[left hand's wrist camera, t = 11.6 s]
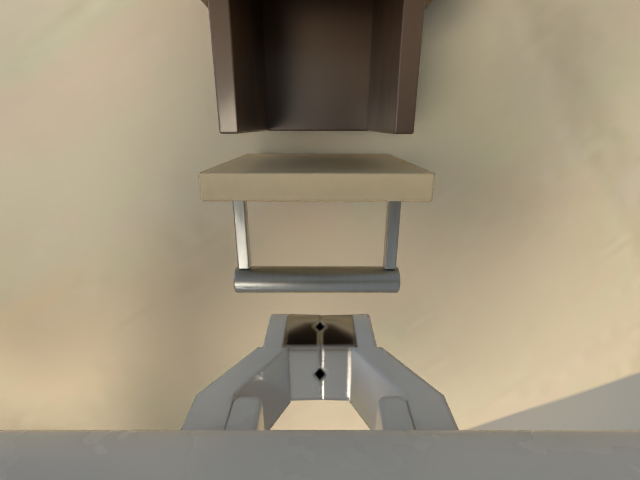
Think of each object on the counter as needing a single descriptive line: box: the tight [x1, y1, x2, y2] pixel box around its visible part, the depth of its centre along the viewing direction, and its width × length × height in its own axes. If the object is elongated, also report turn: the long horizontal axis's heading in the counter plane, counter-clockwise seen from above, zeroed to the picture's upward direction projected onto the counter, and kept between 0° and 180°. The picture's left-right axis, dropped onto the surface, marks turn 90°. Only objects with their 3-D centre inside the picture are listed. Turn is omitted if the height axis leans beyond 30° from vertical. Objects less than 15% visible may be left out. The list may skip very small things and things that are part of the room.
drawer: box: [198, 0, 435, 293], centre depth 17 cm, size 24×10×10 cm, turn 0°
